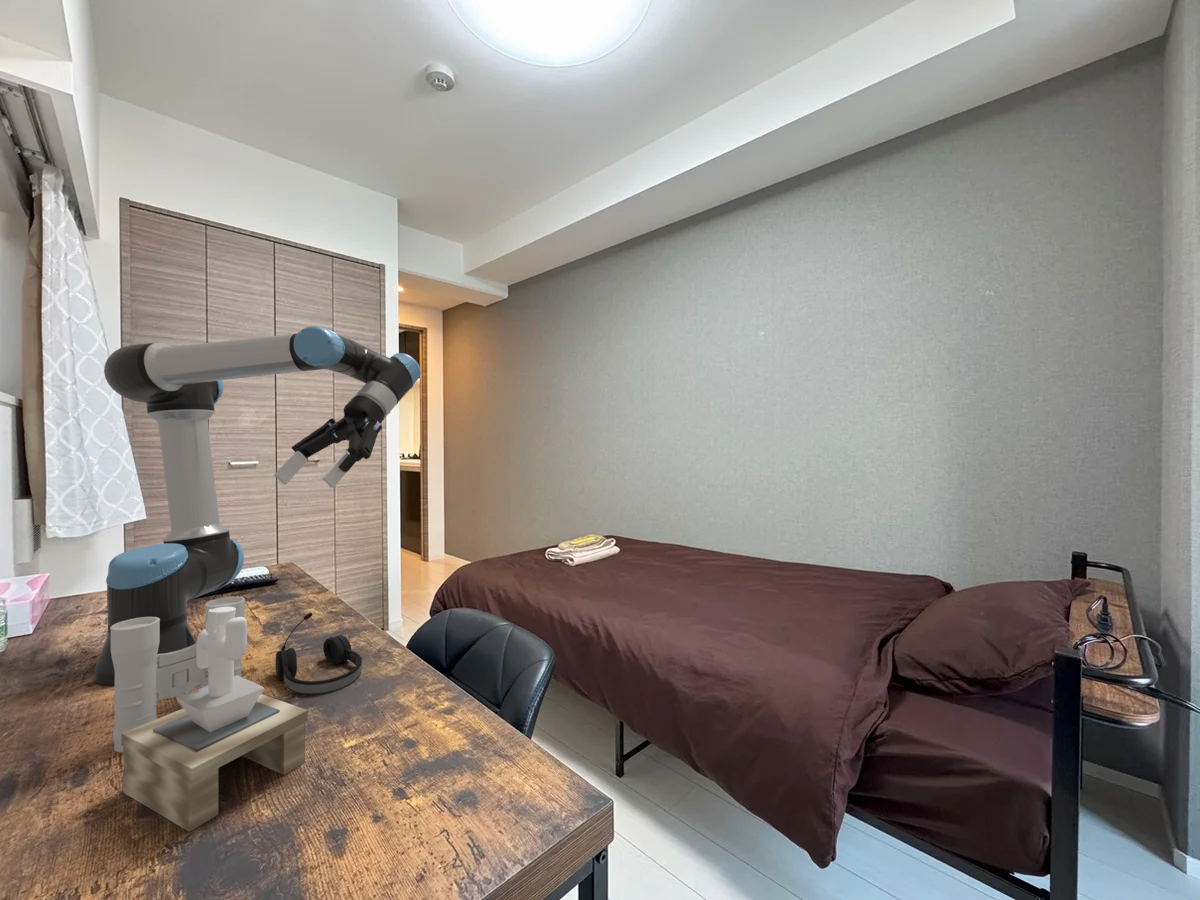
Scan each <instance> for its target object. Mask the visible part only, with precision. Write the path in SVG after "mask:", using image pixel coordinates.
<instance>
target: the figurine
mask: <svg viewBox="0 0 1200 900" xmlns="http://www.w3.org/2000/svg"><path fill="white" fill-rule="evenodd" d="M235 612H236V608H234V607H219V608H215V609H210V610H208V622H206V625H207V626H206V627H205V628H204V629H203V630H201V631H200V632H199V633H198V635H197V637H196V643H197V667H198V668H200V669H203V668H206V669H208V670H207V673H208V674H207V675H208V685H206V686H203V687H200V688H198V689H195V690H194V689H193V690H191V691H188V692H186V693H184V694H181V695H178V696H175V698H176V699H177V701H178V703H179V704H180V705H181V707H182V709H183V708H184V709H185V711H186V712H187V713H188V715H189V716H190V718H191V719H192V720H193V722H194V723H196V724H197V725H199V726H201V727H202V728H204V729H206V730H207V731H209V732H212V731H214V730H216V729H219V728H221V727H224V726H226V725H228V724H231V723H233V722H235V721H238V720H240V719H242V718H245V717H247V716H248V715H249V713H250V711H251V710H252V708H253V706H254V705H255V703H256V701H257V700H258V698H259V696H260V695H261V694H262V693H263V692H264V690H265V686H262V685H260V684H258V683H256V682H253V681H251V680H249V679H246V678H245V677H242V676H241V677H240V676H238V675H237V676H234V660H238V659H240V658H241V659H242V657H243V656H244V655H245V653H246V651H247V648H248V647H247V646H248V621H247V618H246V617H245V618H244V617H236V618H235Z"/></svg>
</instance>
